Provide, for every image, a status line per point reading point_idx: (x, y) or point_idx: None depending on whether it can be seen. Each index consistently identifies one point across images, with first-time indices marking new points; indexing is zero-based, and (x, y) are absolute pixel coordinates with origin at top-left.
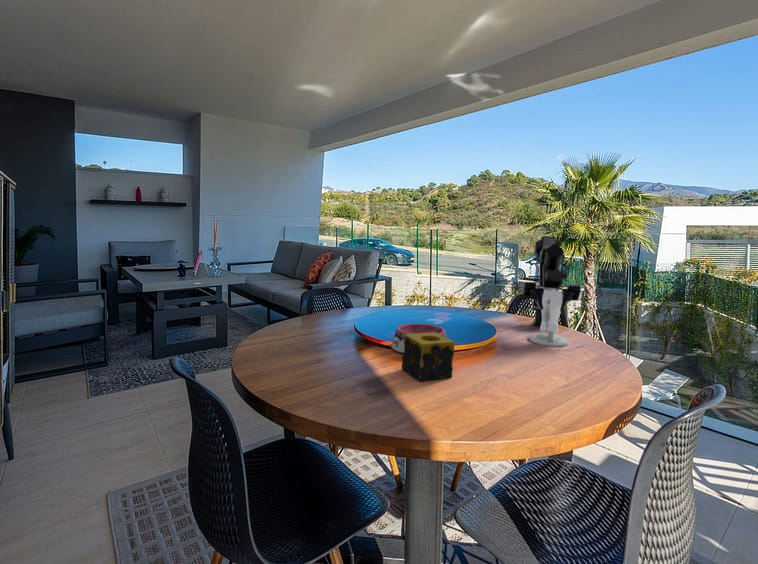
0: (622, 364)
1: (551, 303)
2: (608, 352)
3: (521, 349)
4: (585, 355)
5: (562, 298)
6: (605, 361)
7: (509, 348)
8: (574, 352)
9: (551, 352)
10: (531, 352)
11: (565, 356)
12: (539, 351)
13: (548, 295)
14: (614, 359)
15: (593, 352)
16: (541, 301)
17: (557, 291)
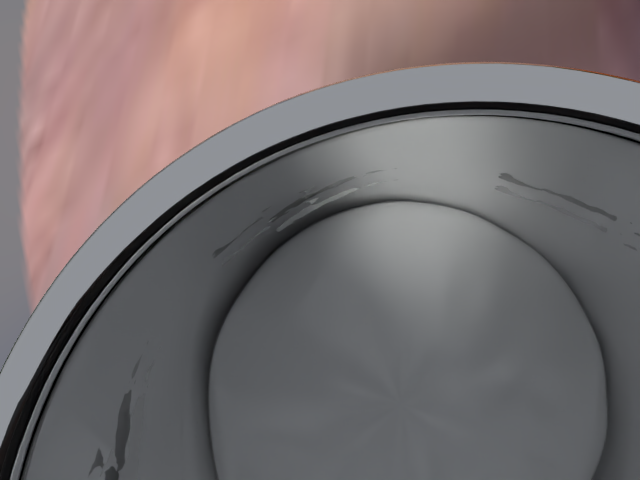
0: (50, 11)
1: (416, 193)
2: (59, 206)
3: (538, 36)
4: (193, 85)
5: (171, 323)
6: (116, 23)
7: (612, 23)
8: (241, 118)
9: (367, 57)
10: (480, 2)
11: (300, 15)
12: (434, 45)
13: (567, 171)
14: (64, 80)
15: (138, 167)
16: (607, 362)
17: (283, 107)
